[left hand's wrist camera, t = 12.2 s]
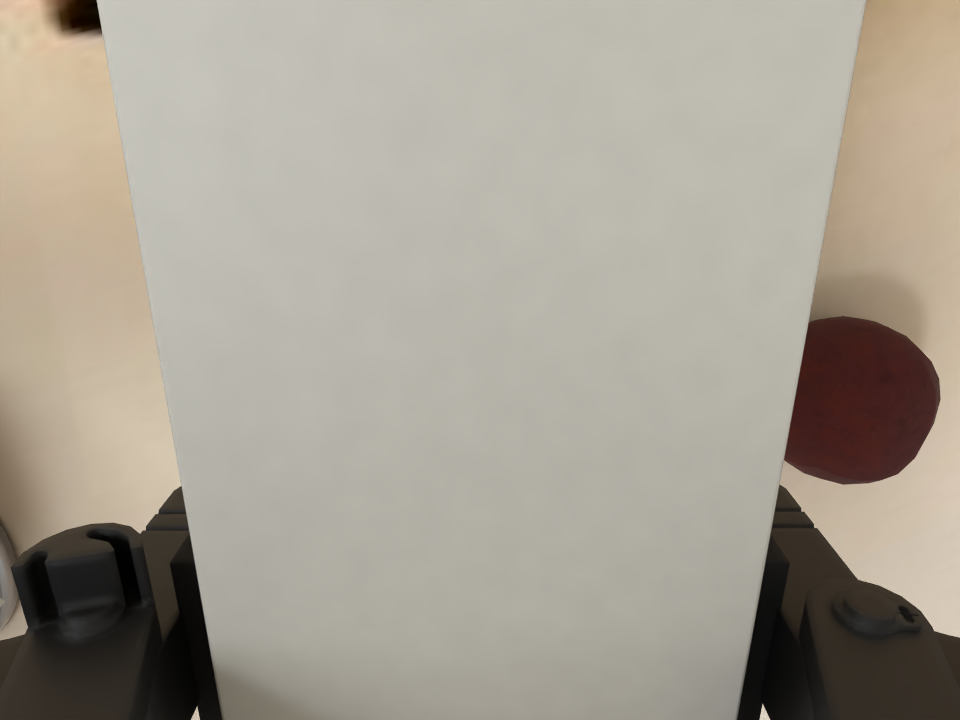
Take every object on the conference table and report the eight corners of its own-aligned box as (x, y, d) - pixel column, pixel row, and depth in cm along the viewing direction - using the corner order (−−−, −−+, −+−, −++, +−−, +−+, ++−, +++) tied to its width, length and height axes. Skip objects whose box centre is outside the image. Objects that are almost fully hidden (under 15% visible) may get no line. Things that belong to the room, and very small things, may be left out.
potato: (898, 301, 33) (1001, 352, 26) (859, 443, 36) (943, 522, 29) (746, 294, 33) (811, 344, 26) (719, 438, 36) (772, 514, 29)
